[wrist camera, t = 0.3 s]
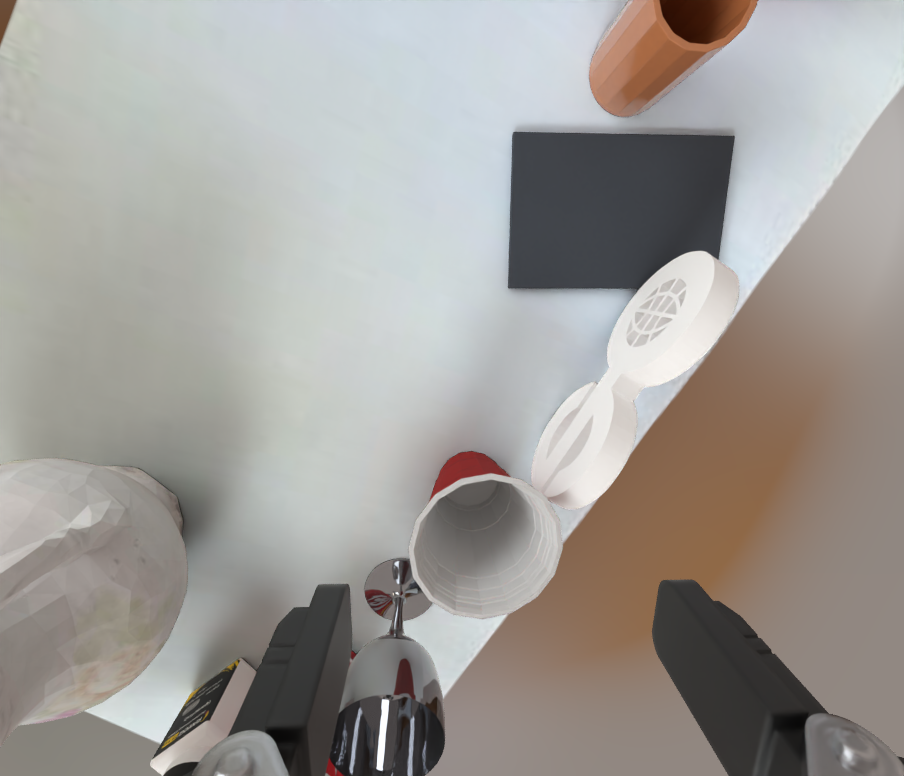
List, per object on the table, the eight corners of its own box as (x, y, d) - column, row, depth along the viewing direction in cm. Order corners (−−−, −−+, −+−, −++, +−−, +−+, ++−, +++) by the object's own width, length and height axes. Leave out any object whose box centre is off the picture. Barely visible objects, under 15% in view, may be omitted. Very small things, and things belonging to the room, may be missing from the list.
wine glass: (393, 540, 42) (373, 673, 28) (456, 583, 44) (469, 731, 29) (344, 597, 43) (301, 754, 29) (407, 636, 45) (396, 805, 30)
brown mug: (600, 128, 35) (666, 67, 25) (579, 44, 34) (640, -55, 24) (709, 87, 35) (818, 9, 25) (692, 0, 33) (801, -118, 24)
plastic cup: (550, 480, 42) (597, 554, 30) (466, 549, 43) (480, 647, 31) (476, 399, 40) (496, 446, 28) (390, 475, 41) (374, 550, 29)
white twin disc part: (661, 253, 37) (744, 247, 27) (681, 267, 37) (770, 266, 27) (521, 462, 41) (550, 522, 31) (540, 473, 42) (574, 534, 32)
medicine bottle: (241, 655, 44) (174, 786, 33) (289, 698, 46) (241, 838, 34) (190, 692, 45) (106, 834, 33) (238, 733, 47) (175, 883, 35)
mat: (512, 134, 35) (513, 131, 34) (729, 138, 36) (735, 135, 35) (508, 288, 37) (509, 288, 37) (710, 288, 38) (714, 288, 38)
